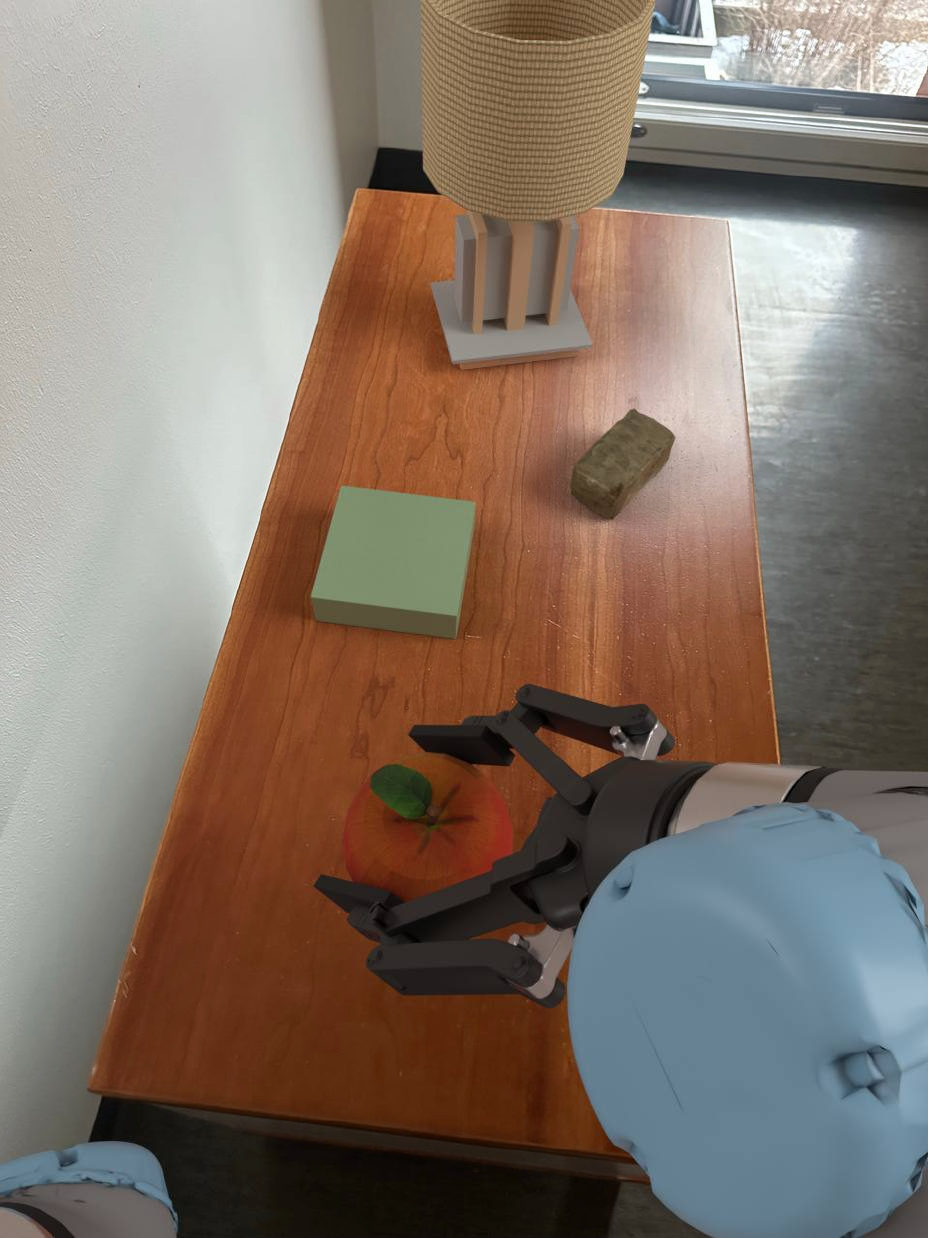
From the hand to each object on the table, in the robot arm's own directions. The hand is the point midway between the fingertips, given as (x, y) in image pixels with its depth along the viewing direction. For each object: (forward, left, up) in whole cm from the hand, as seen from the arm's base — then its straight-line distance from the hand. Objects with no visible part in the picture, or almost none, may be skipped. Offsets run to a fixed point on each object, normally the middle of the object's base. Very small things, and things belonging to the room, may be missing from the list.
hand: (381, 815), depth 51 cm
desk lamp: (+63, +21, -20) cm, 70 cm away
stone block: (+48, +1, -20) cm, 52 cm away
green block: (+27, +15, -20) cm, 37 cm away
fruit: (0, -3, -4) cm, 5 cm away
